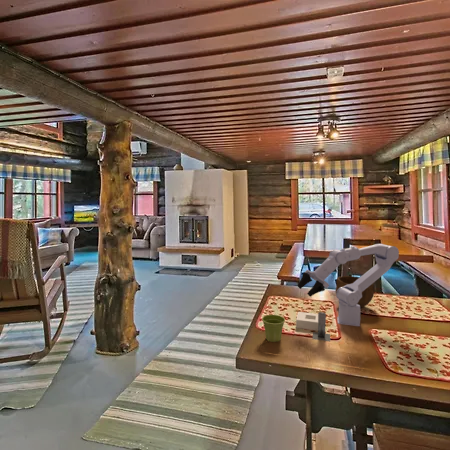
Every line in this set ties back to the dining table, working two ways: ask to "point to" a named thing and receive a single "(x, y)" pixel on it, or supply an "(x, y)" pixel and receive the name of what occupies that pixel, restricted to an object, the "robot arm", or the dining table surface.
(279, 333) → the plant pot
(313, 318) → the block
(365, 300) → the bowl
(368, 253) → the robot arm
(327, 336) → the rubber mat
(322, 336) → the steel pin
